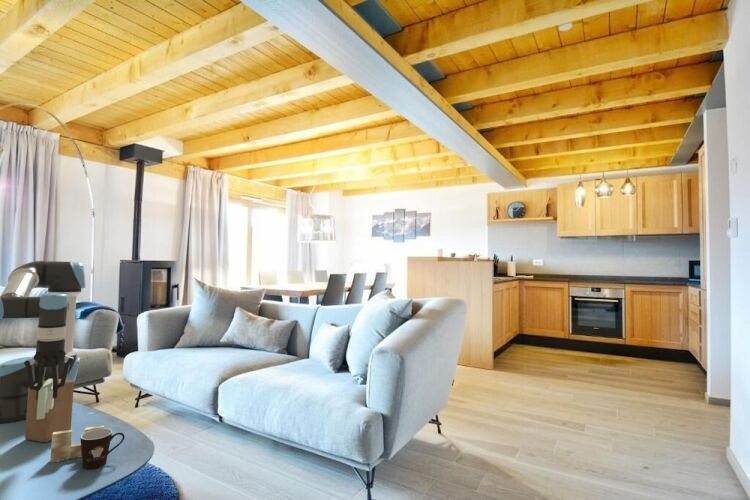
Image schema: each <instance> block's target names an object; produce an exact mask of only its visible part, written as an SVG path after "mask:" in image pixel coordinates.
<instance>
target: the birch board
mask: <svg viewBox="0 0 750 500" xmlns="http://www.w3.org/2000/svg"><path fill="white" fill-rule="evenodd" d="M101 428H105V425H104V424H103V425H98V426H89V427H85V429H84V433H85V432H87V431H90V430H94V429H101ZM73 430H74V429H71V430H66V431H59V432H53V434H52V440H51V445H50V446H51V447H50V461H49V462H50V463H51V464H55V463H54V462H57V463H60V462H61V461H62V460H61V459H66V460H68V459H67V458H72V459H76V458H75V457H78V458H82V457H81V456H82V454H81V442H79V443H74V444H73V433H74V431H73ZM59 461H60V462H59Z"/></svg>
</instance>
